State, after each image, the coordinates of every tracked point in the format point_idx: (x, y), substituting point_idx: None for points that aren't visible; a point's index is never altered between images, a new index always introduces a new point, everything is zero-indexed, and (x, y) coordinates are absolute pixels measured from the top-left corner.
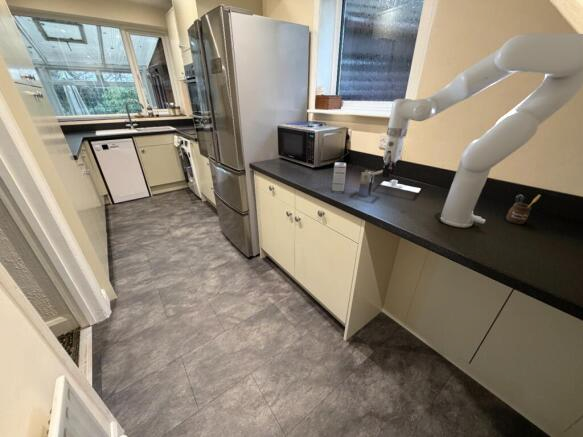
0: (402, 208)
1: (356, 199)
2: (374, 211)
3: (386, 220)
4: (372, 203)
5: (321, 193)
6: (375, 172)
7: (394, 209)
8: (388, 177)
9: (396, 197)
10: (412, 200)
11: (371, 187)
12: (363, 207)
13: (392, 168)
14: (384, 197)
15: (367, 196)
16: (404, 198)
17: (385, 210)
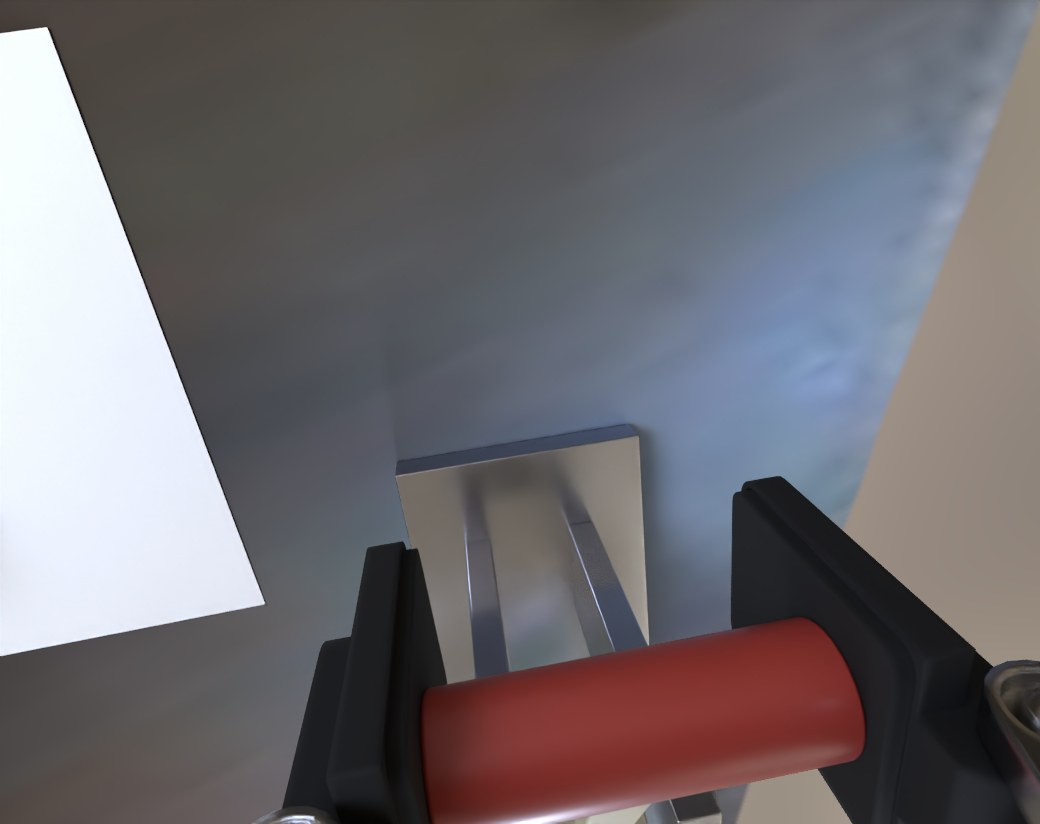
0: (509, 45)
1: (646, 575)
2: (829, 285)
3: (988, 62)
4: (631, 411)
5: (731, 820)
6: (637, 819)
7: (621, 124)
8: (775, 485)
9: (183, 290)
10: (60, 39)
11: (494, 608)
12: (798, 421)
13: (430, 713)
14: (335, 405)
15: (578, 529)
16: (105, 181)
17: (726, 201)
